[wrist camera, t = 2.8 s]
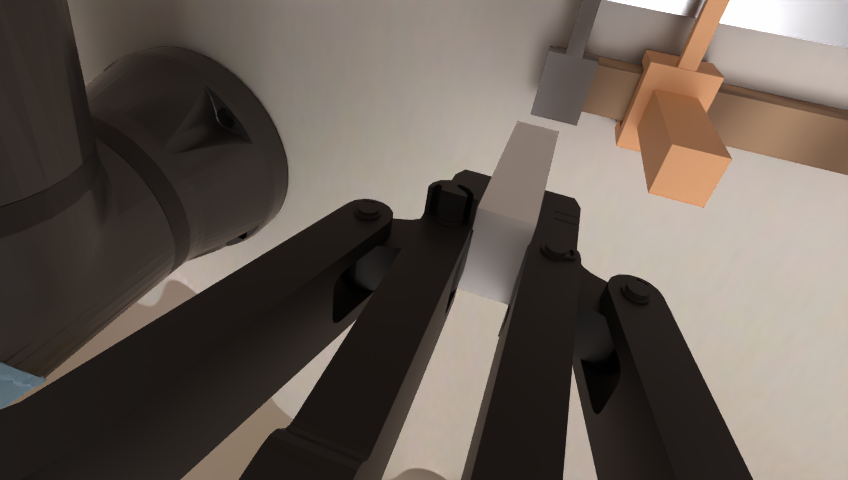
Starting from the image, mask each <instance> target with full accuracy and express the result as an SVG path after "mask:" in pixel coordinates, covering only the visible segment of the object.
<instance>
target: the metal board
mask: <svg viewBox="0 0 848 480" xmlns="http://www.w3.org/2000/svg"><path fill="white" fill-rule="evenodd" d="M608 1H613V2H618V3H623V4H628V5H633V6H638V7H643V8H648V9H653V10H658V11H663V12H668V13H673V14H678V15H683V16H688V17H693V18H697V17H698V14H699V12H700V10H701V8H702V5H703V3H704V1H705V0H608ZM719 23H723V24H728V25H733V26H738V27H743V28H748V29H753V30H758V31H763V32H768V33H773V34H778V35H783V36H788V37H793V38H798V39H803V40H808V41H813V42H818V43H823V44H828V45H833V46H838V47H843V48H848V0H730V1H729V3H728V5H727V8H726V10H725V12H724V14H723V16H722V18H721V20H720V22H719Z"/></svg>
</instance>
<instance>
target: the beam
mask: <svg viewBox="0 0 848 480" xmlns="http://www.w3.org/2000/svg"><path fill="white" fill-rule="evenodd" d="M600 2H601V0H582V1H581V4H580V7H579V11H578V14H577V17H576V21H575V24H574V27H573V30H572V34H571V37H570V40H569V43H568V47H567V49H564V48H559V47H554V46H550V49H549V51H548V55H547V58H546V62H545V65H544V69H543V72H542V76H541V80H540V83H539V87H538V90H537V94H536V97H535V101H534V104H533V108H532V111H531V115H535V116H539V117H544V118H548V119H552V120H556V121H560V122H564V123H568V124H572V125H576V126H577V123H578V120H579V117H580V114H581V111H583V112H587V113H591V114H596V115H600V116H604V117H608V118H612V119H616V120H620V121H623V120H624V117H625V115H626V113H627V110H628V108H629V105H630V103H631V100H632V98H633V96H634V93H635V91H636V88H637V86H638V83H639V81H640V78H641V76H642V74H643V71H644V68H643V66H641V65H637V64H632V63H627V62H623V61H618V60H614V59H609V58H605V57H600V56H596V55H591V54H586V53H584V50H585V47H586V44H587V41H588V38H589V35H590V32H591V29H592V26H593V23H594V20H595V17H596V14H597V11H598V8H599V5H600ZM707 115H708V117H709V119H710V120H711V122H712V124H713V126H714V127H715V129H716V131H717V133H718V135H719V136H720V138H721V140H722V142H723V144H724V145H725V146H729V147H733V148H737V149H741V150H745V151H750V152H754V153H758V154H762V155H766V156H770V157H775V158H779V159H783V160H787V161H791V162H795V163H799V164H804V165H808V166H812V167H816V168H820V169H824V170H829V171H833V172H837V173H841V174H845V175H848V111H846V110H841V109H837V108H832V107H828V106H823V105H818V104H814V103H809V102H805V101H800V100H796V99H791V98H787V97H782V96H778V95H773V94H768V93H764V92H759V91H755V90H750V89H746V88H741V87H737V86H732V85H728V84H723V83H722V84H721V86H720V88H719V90H718V91H717V93H716V95H715V97H714V99H713V101H712V103H711V105H710V107H709V109H708V111H707Z"/></svg>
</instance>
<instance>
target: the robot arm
mask: <svg viewBox="0 0 848 480" xmlns="http://www.w3.org/2000/svg"><path fill="white" fill-rule="evenodd" d="M558 133H559V132H558V131H555V130H551V129H547V128H543V127H539V126H535V125H531V124H527V123H523V122H519V121H517V123H516V126H515V128H514V130H513V132H512V134H511V136H510V139H509V141H508V143H507V145H506V147H505V149H504V152H503V154H502V156H501V158H500V160H499V162H498V165H497V167H496V169H495V171H494V173H493V175H492V177H491V176H487V175H484V174H480V173H476V172H473V171H469V170H464V171H462V172H459V173H457V174H455V176H454V178H453V179H452V180H440V181H437V182H433V183H432V184H431V185H429V187H428V193H427V199H426V205H425V211H424V214H423V216H422V217H421V219H415V220H404V219H393V212H392V210H391V209H390V207H389V206H387V205H386V204H384V203H382V202H379V201H376V200H372V199H371V200H370V199H360V200H354V201H352V202H349V203H347V204H345V205H344V206H342V207H340V208H339V209H337V210H335V211H334V212H332V213H331V214H329V215H327V216H326V217H324V218H322V219H321V220H319V221H317V222H316V223H314V224H312V225H311V226H309V227H307V228H306V229H304V230H303V231H301V232H299V233H298V234H296V235H294V236H293V237H291V238H289V239H288V240H286V241H284V242H283V243H281V244H279V245H278V246H276V247H275V248H273V249H271V250H270V251H268V252H266V253H265V254H263V255H261V256H260V257H258V258H256V259H255V260H253V261H251V262H250V263H248V264H247V265H245V266H243V267H242V268H240V269H238V270H237V271H235V272H233V273H232V274H230V275H228V276H227V277H225V278H224V279H222V280H220V281H219V282H217V283H215V284H214V285H212V286H210V287H209V288H207V289H205V290H204V291H202V292H200V293H199V294H197V295H196V296H194V297H192V298H191V299H189V300H187V301H186V302H184V303H182V304H181V305H179V306H178V307H176V308H174V309H172V310H171V311H169V312H168V313H166V314H164V315H163V316H161V317H159V318H158V319H156V320H154V321H153V322H151V323H149V324H148V325H146V326H145V327H143V328H141V329H140V330H138V331H136V332H135V333H133V334H131V335H130V336H128V337H126V338H125V339H123V340H122V341H120V342H118V343H116V344H115V345H113V346H112V347H110V348H108V349H107V350H105V351H103V352H102V353H100V354H98V355H97V356H95V357H94V358H92V359H90V360H89V361H87V362H85V363H84V364H82V365H80V366H79V367H77V368H75V369H74V370H72V371H70V372H69V373H67V374H65V375H64V376H62V377H60V378H59V379H57V380H56V381H54V382H52V383H51V384H49V385H47V386H46V387H44V388H42V389H41V390H39V391H37V392H36V393H34V394H33V395H31V396H29V397H28V398H26V399H24V400H23V401H21V402H19V403H16V404H14V405H11V406H9V407H6V406H8V405H9V404H11V403H12V402H13V401H15V400H16V399H18V398H19V397H20V396H22V395H23V394H25V393H26V392H28V391H29V390H31V389H32V388H33V387H38V386H40V385H41V384H42V383H43V382H45V381H46V377H47V376H48V375H49V374H50V373H51V372H53V371H54V370H55V369H56V368H57V367H59V366H60V365H61V364H62V363H63V362H65V361H66V360H67V359H68V358H70V356H72V355H73V354H74V353H75V352H77V351H78V350H79V349H80V348H81V347H83V346H84V345H85V344H86V343H87V342H89V341H90V340H91V339H92V338H93V337H94V336H96V335H97V334H98V333H99V332H101V331H102V330H103V329H104V328H105V327H107V326H108V325H109V324H110V323H111V322H113V321H114V320H115V319H116V318H117V317H118V316H120V315H121V314H122V313H123V312H125V311H126V310H127V309H128V308H129V307H131V306H132V305H133V304H134V303H136V302H137V301H138V300H139V299H140V298H142V297H143V296H144V295H145V294H146V293H148V292H149V291H150V290H151V289H153V288H154V287H155V286H156V285H157V284H159V283H160V282H161V281H162V280H164V279H165V278H166V277H167V276H168V275H169V274H171V273H172V272H173V271H174V270H176V269H177V268H178V267H179V266H181V265H182V264H183V263H185V262H186V261H189V260H192V259H195V258H198V257H201V256H203V255H206V254H209V253H212V252H214V251H217V250H219V249H222V248H224V247H226V246H230V245H234V244H237V243H240V242H242V241H245V240H247V239H249V238H250V237H252V236H253V235H255V234H256V233H258V232H259V231H260V230H261V229H262V228H263V227H264V226H265V225H267V224H268V223H269V222H270V221H271V220H272V219H273V218H274V217H275V216H276V215H277V213H278V212H279V210H280V209H281V207H282V204H283V202H284V199H285V196H286V191H287V182H288V174H287V164H286V159H285V154H284V150H283V147H282V144H281V141H280V139H279V136H278V134H277V131H276V129H275V127H274V125H273V123H272V122H271V120H270V118H269V116H268V115H267V113H266V112H265V110H264V109H263V107H262V106H261V104H260V103H259V102H258V100H257V99H256V98H255V97H254V95H253V94H252V93H251V92H250V91H249V90H248V89H247V88H246V87H245V85H244V84H243V83H242V82H240V81H239V80H238V79H237V78H236V77H235V76H234V75H233V74H231V73H230V72H229V71H228V70H226V69H225V68H223V67H222V66H221V65H219V64H217V63H216V62H214V61H212V60H211V59H209V58H207V57H205V56H203V55H201V54H198V53H196V52H193V51H190V50H186V49H182V48H177V47H156V48H151V49H148V50H144V51H141V52H137V53H134V54H130V55H127V56H125V57H122V58H120V59H118V60H117V61H115V62H113V63H112V64H111V65H110V66H108V67H107V68H106V69H105V70H104V72H103V73H102V74H100V75H99V76H98V77H97V78H95V79H94V80H93V81H92V82H91V83H90V84H88V85H87V86H86V87H85V84H84V79H83V75H82V70H81V65H80V60H79V55H78V50H77V46H76V41H75V36H74V31H73V26H72V22H71V17H70V12H69V7H68V2H67V0H0V480H180V479H181V478H182V477H184V476H185V475H186V474H187V473H188V472H189V471H190V470H191V469H192V468H193V467H195V466H196V465H197V464H198V463H199V462H200V461H201V460H202V459H203V458H204V457H206V456H207V455H208V454H209V453H210V452H211V451H212V450H213V449H214V448H215V447H217V446H218V445H219V444H220V443H221V442H222V441H223V440H224V439H225V438H227V437H228V436H229V435H230V434H231V433H232V432H233V431H234V430H235V429H236V428H238V427H239V426H240V425H241V424H242V423H243V422H244V421H245V420H246V419H247V418H249V417H250V416H251V415H252V414H253V413H254V412H255V411H256V410H257V409H258V408H260V407H261V406H262V405H263V404H264V403H265V402H266V401H267V400H268V399H269V398H271V397H272V396H273V395H274V394H275V393H276V392H277V391H278V390H279V389H280V388H282V387H283V386H284V385H285V384H286V383H287V382H288V381H289V380H290V379H291V378H293V377H294V376H295V375H296V374H297V373H298V372H299V371H300V370H301V369H302V368H304V367H305V366H306V365H307V364H308V363H309V362H310V361H311V360H312V359H313V358H315V357H316V356H317V355H318V354H319V353H320V352H321V351H322V350H323V349H324V348H326V347H327V346H328V345H329V344H330V343H331V342H332V341H333V340H334V339H335V338H337V337H338V336H339V335H340V334H341V333H342V332H343V331H344V330H345V329H346V328H348V327H349V326H350V325H351V324H352V323H353V322H354V321H355V320H356V319H357V320H356V322H355V323H354V325H353V326H352V328H351V329H350V331H349V333H348V334H347V336H346V337H345V339H344V341H343V342H342V344H341V345H340V347H339V348H338V350H337V352H336V353H335V355H334V356H333V358H332V360H331V361H330V363H329V364H328V366H327V367H326V369H325V371H324V372H323V374H322V375H321V377H320V379H319V380H318V382H317V383H316V385H315V386H314V388H313V390H312V391H311V393H310V394H309V396H308V397H307V399H306V401H305V402H304V404H303V405H302V407H301V409H300V410H299V412H298V413H297V415H296V416H295V418H294V419H293V421H292V422H291V424H290V425H289V426H288V427H287V428H282V429H276V430H275V431H274V432H272V433H271V434H270V435H269V436H268V438H267V439H266V440H265V442H264V443H263V444H262V445H261V447H260V448H259V450H258V451H257V453H256V454H255V456H254V457H253V459H252V460H251V462H250V464H249V465H248V466H247V468H246V470H245V471H244V473H243V474H242V475H241V477H240V478H239V480H381V479H382V476H383V474H384V471H385V469H386V466H387V464H388V462H389V459H390V457H391V454H392V452H393V449H394V447H395V444H396V442H397V439H398V437H399V434H400V432H401V429H402V427H403V425H404V422H405V420H406V417H407V415H408V412H409V410H410V407H411V405H412V402H413V400H414V397H415V395H416V393H417V390H418V388H419V385H420V383H421V380H422V378H423V375H424V373H425V370H426V368H427V365H428V363H429V360H430V358H431V356H432V353H433V351H434V348H435V346H436V343H437V341H438V338H439V336H440V333H441V331H442V328H443V326H444V323H445V321H446V319H447V316H448V314H449V311H450V309H451V306H452V304H453V301H454V298H455V294H456V290H457V286H458V289H461V290H465V291H468V292H471V293H474V294H477V295H480V296H483V297H486V298H489V299H492V300H495V301H498V302H502V303H505V304H508V305H509V306H508V309H507V311H506V314H505V317H504V320H503V323H502V326H501V329H500V332H499V335H498V336H499V340H498V344H497V347H496V351H495V355H494V359H493V362H492V366H491V370H490V374H489V377H488V381H487V385H486V389H485V392H484V396H483V400H482V403H481V407H480V411H479V415H478V418H477V422H476V426H475V430H474V433H473V437H472V441H471V445H470V448H469V452H468V456H467V459H466V463H465V467H464V471H463V474H462V478H461V480H563V470H564V458H565V447H566V435H567V423H568V411H569V399H570V387H571V375H572V365H573V370H574V374H575V379H576V383H577V388H578V392H579V397H580V401H581V406H582V410H583V415H584V419H585V424H586V428H587V433H588V437H589V442H590V447H591V451H592V456H593V460H594V465H595V469H596V474H597V478H598V480H753V478H752V476H751V474H750V472H749V470H748V468H747V466H746V464H745V462H744V460H743V458H742V456H741V454H740V452H739V450H738V448H737V446H736V444H735V442H734V440H733V438H732V436H731V433H730V431H729V429H728V427H727V425H726V423H725V421H724V419H723V417H722V415H721V413H720V411H719V409H718V407H717V405H716V403H715V401H714V399H713V397H712V395H711V393H710V391H709V389H708V387H707V384H706V382H705V380H704V378H703V376H702V374H701V372H700V370H699V368H698V366H697V364H696V362H695V360H694V358H693V356H692V354H691V352H690V350H689V348H688V346H687V344H686V342H685V340H684V338H683V335H682V333H681V331H680V329H679V327H678V325H677V323H676V321H675V319H674V317H673V315H672V313H671V311H670V309H669V307H668V305H667V303H666V301H665V299H664V297H663V296H662V294H661V293H660V292H659V290H658V289H657V288H655V287H654V286H653V285H651V284H650V283H649V282H647V281H645V280H643V279H641V278H638V277H635V276H631V275H616V276H613V277H611V278H610V280H609V281H608V282H606V281H604V280H603V279H601V278H599V277H597V276H595V275H594V274H592V273H590V272H589V271H588V270H587V269H585V268H584V267H583V266H582V265H581V257H580V253H579V252H578V251H577V242H578V231H579V221H580V219H579V218H580V210H581V208H580V206H579V205H578V203H577V201H576V200H575V198H571V197H567V196H564V195H560V194H557V193H553V192H549V191H546V190H545V187H546V183H547V179H548V175H549V171H550V166H551V162H552V158H553V154H554V150H555V145H556V141H557V137H558ZM458 284H459V285H458ZM5 407H6V408H5Z"/></svg>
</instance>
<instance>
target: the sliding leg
mask: <svg viewBox="0 0 848 480" xmlns="http://www.w3.org/2000/svg"><path fill="white" fill-rule="evenodd" d="M729 1H730V0H705V1H704V3H703V5H702V8H701V10H700V12H699V14H698V17H697V19H696V21H695V23H694V26H693V28H692V30H691V32H690V34H689V37H688V39H687V41H686V43H685V46H684V48H683V50H682V52H681V55H680V57H679V56H674V55H669V54H665V53H660V52H655V51H651V50H646V52H645V54H644V57H643V59H642V65H643V68H644V71H643V74H642V76H641V78H640V81H639V83H638V86H637V88H636V91H635V93H634V96H633V98H632V100H631V103H630V105H629V108H628V110H627V113H626V115H625V117H624V120H623V121H620V120H618V121H617V124H616V126H615V136H616V146H618V147H622V148H626V149H630V150H634V151H638V152H641V155H642V160H643V166H644V172H645V177H646V183H647V188H648V193H650V194H654V195H657V196H661V197H665V198H669V199H673V200H676V201H680V202H684V203H688V204H692V205H695V206H699V207H703V208H704V206H705V205H706V203H707V201H708V199H709V198H710V196H711V194H712V193H713V191H714V189H715V187H716V186H717V184H718V182H719V181H720V179H721V177H722V176H723V174H724V172H725V170H726V169H727V167H728V165H729V164H730V162H731V160H732V158H731V156H730V154H729V153H728V151H727V149H726V147H725V145H724V144H723V142H722V140H721V138H720V136H719V135H718V133H717V131H716V129H715V127H714V126H713V124H712V122H711V120H710V119H709V117H708V115H707V111H708V109H709V107H710V105H711V103H712V101H713V99H714V97H715V95H716V93H717V91H718V90H719V88H720V86H721V84H722V82H723V80H724V77H723V76H722V74H721V73H720V72H719V71H718V70H717V68H716V67H715V66H714V65H713V64H712V63H707V62H702V61H701V60H702V58H703V56H704V54H705V52H706V50H707V48H708V45H709V43H710V41H711V39H712V37H713V35H714V33H715V31H716V29H717V27H718V24H719V22H720V20H721V18H722V16H723V14H724V12H725V10H726V8H727V5H728V3H729Z"/></svg>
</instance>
